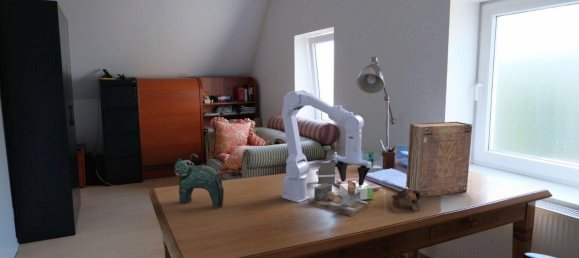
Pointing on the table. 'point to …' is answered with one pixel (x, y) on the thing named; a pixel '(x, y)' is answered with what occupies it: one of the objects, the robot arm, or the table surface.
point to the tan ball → (331, 195)
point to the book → (438, 158)
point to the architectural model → (326, 173)
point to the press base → (334, 201)
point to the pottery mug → (412, 196)
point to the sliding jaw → (351, 195)
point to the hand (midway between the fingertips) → (352, 183)
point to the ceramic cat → (198, 181)
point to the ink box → (364, 189)
